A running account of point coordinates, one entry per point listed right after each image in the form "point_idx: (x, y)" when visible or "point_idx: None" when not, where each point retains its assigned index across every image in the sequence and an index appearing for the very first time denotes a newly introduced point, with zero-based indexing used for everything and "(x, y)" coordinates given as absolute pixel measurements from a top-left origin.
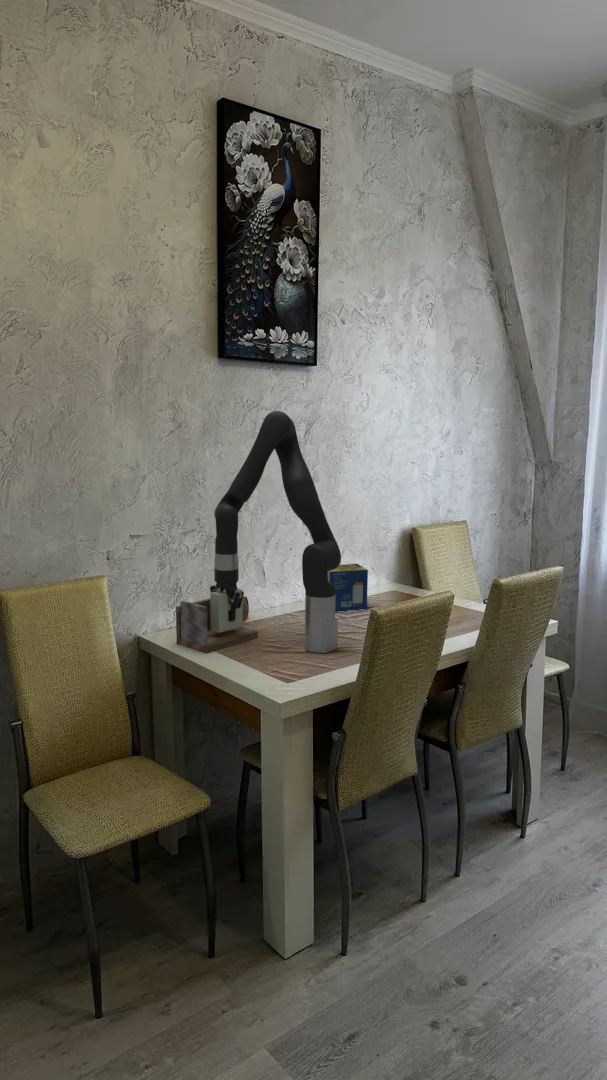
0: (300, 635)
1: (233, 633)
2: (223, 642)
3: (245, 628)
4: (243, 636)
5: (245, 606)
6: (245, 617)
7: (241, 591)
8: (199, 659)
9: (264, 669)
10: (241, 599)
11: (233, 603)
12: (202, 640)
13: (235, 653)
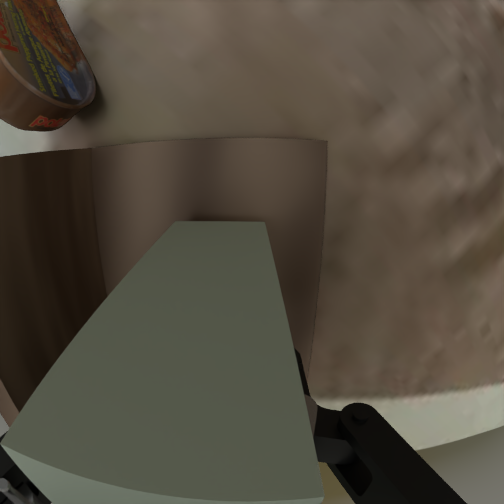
0: (431, 7)
1: None
2: (306, 379)
3: (220, 146)
4: (320, 261)
5: None
6: (46, 1)
7: (313, 480)
8: None
9: (497, 372)
10: (428, 479)
11: (350, 490)
12: None
13: (380, 366)
